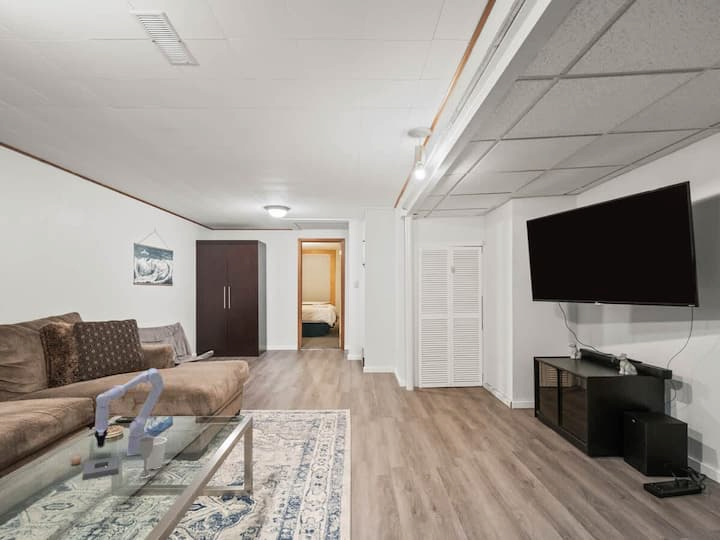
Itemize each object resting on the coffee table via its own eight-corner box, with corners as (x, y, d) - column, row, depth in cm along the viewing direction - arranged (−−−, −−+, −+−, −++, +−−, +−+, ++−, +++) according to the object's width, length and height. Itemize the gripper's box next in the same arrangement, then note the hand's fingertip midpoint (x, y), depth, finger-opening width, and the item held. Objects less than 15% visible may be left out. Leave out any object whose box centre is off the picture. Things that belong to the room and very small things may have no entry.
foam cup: (156, 472, 197) (158, 445, 197) (140, 470, 199) (141, 443, 199) (169, 463, 207) (170, 438, 207) (153, 461, 208) (154, 436, 209)
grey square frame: (118, 461, 207) (118, 456, 207) (117, 473, 195) (118, 468, 195) (84, 466, 200) (85, 461, 200) (82, 479, 188) (82, 474, 188)
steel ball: (105, 445, 212) (105, 437, 212) (105, 448, 208) (105, 440, 208) (96, 447, 210) (96, 439, 210) (95, 450, 206) (96, 442, 206)
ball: (81, 461, 205) (81, 453, 205) (80, 465, 201) (80, 456, 201) (71, 463, 203) (71, 455, 203) (70, 466, 199) (71, 458, 199)
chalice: (156, 474, 195) (158, 437, 196) (144, 481, 189) (146, 442, 189) (144, 471, 198) (146, 434, 198) (132, 477, 191) (134, 439, 192)
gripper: (93, 414, 213) (92, 440, 213) (91, 424, 201) (90, 451, 201) (109, 412, 217) (108, 438, 217) (108, 421, 204) (107, 449, 204)
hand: (100, 444), depth 209 cm, fingers closed on steel ball, 4 cm apart
